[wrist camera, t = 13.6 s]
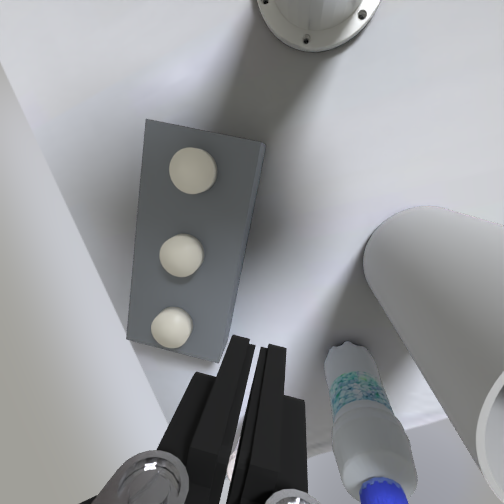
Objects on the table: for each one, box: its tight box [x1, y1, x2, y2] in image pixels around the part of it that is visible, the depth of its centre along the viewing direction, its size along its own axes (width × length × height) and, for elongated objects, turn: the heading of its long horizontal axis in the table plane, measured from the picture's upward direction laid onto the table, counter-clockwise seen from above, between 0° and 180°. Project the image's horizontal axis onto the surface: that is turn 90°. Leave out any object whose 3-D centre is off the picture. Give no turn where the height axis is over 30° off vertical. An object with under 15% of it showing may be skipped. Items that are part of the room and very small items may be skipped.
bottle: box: [324, 341, 418, 504], centre depth 31 cm, size 7×7×20 cm
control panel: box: [126, 119, 266, 363], centre depth 37 cm, size 26×12×5 cm, turn 169°
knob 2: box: [169, 147, 217, 194], centre depth 33 cm, size 4×4×6 cm
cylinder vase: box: [363, 206, 504, 503], centre depth 24 cm, size 12×12×25 cm
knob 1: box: [151, 307, 193, 348], centre depth 38 cm, size 4×4×6 cm
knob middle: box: [159, 234, 204, 277], centre depth 36 cm, size 4×4×6 cm
